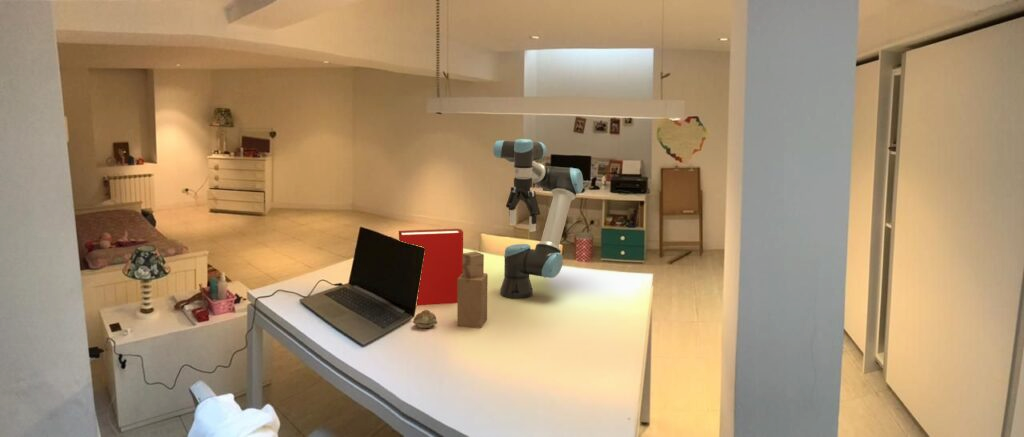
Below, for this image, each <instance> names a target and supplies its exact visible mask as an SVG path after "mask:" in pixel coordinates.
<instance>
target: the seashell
mask: <svg viewBox="0 0 1024 437" xmlns="http://www.w3.org/2000/svg"><path fill="white" fill-rule="evenodd" d="M412 322H413V324H414V325H415V326H416V327H418V328H419V329H425V328H428V329H429V328H431V327H433V326H434V325H436V324H437V323H438V320H437V317H436V315H435V314H434V313H433V312H431V311H430V310H428V309H424V310H422V311H421V312H419V313H417V314H416V315H415V317H414V318H413V321H412Z"/></svg>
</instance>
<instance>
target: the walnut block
mask: <svg viewBox="0 0 1024 437" xmlns="http://www.w3.org/2000/svg"><path fill="white" fill-rule="evenodd" d="M484 255H485V254H483V253H481V252H478V251H476V250H475V251H469V252H468V251H467V252H463V276H466V277H468V278H470V279H473V278H478V277H483V276H484V273H485V270H484V268H485V267H484V265H485V264H484V263H485V262H484V260H485V256H484Z"/></svg>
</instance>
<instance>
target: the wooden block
mask: <svg viewBox="0 0 1024 437" xmlns="http://www.w3.org/2000/svg"><path fill="white" fill-rule="evenodd" d="M488 276H489V275H488V273H486V272H484V276H483V277H478V278H473V279H470V278H468V277H466V276H463V274H462V275H461V276H460V277H459V278H458V285H457V303H456V304H457V305H456V307H457V310H456V312H457V314H456V315H457V316H456V317H457V321H456V322H457V326H458V327H467V328H478V329H479V328H480V329H481V328H483V326H484V325H485V323H486V321H487V320H488Z"/></svg>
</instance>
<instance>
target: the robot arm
mask: <svg viewBox="0 0 1024 437" xmlns="http://www.w3.org/2000/svg"><path fill="white" fill-rule="evenodd" d="M492 152H493V156H494V157H495V158H499V159H504V160H506V161H508V163H510V164H511V165H513V177H514V178H513V186H512V187H510V191H509V192H510V193H509V196H508V198H507V201H506V205H505V207H506V208H508V210H509V211H508V213H509V215H508V216H509V226H511V227H512V226H516V225H517V209H516V207H517V206H518V204H519V203H520V201H523V202H524V203H525V205H526V208H527V210H528V212H529V214H530V215H529V216H528V217H529V220H528V223H529V224H528V225H529V227H528V232H529V233H532V232H536V230H537V216H540V215H541V212H540V208H539V204H538V199H537V197H536V196H537V195H536V191H535V190H534V191H533V190H532V191H531V188H532V187H533V185H536V186H537V187H539V188H540V189H542V190H545V191H551V195H552V201H551V204H550V207H549V210H548V213H547V214H548V215H547V218H546V220H545V221H546V222H545V226H544V229H543V233H542V236H541V239H540V242H538V243H536V245H535V248H534V249H533V248H531V245H530V244H527V243H518V244H512V245H509V246H507V247H505V249H504V256H503V258H504V269H503V270H504V275H503V277H504V278H503V281H502V284H501V287H500V289H499V290H500V292H499V294H500V295H501V296H502V297H505V298H509V299H517V300H518V299H526V298H530V297H532V296H533V293H534V289H533V286H532V283H531V279H530V276H534V277H535V276H536V277H543V278H545V279H546V278H548V279H549V278H550V279H553V278H555V277H557V276H558V274H560V272H561V270H562V268H563V264H564V262H563V261H564V257H563V253H562V251H561V249H560V243H561V240H562V237H563V236H562V235H563V233H564V228H565V225H566V222H567V218H568V214H569V210H570V206H571V202H572V201H573V200H575V199H576V196H577V194H578V195H579V194H581V193H582V191H583V189H584V178H583V173H582V171H581V170H580V169H579V168H574V167H562V166H561V167H560V166H552V165H551V166H550V165H544V164H542V163H540V162H536V161H540V160H541V159H543V158H544V157H545V156H546V154H547V147H546V145H545V143H543V142H541V141H533V140H532V139H531V138H530V139H529V138H520V139H519V138H518V139H515V141H514V140H503V139H502V140H496V141H495V142H494V144H493V150H492Z"/></svg>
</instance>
